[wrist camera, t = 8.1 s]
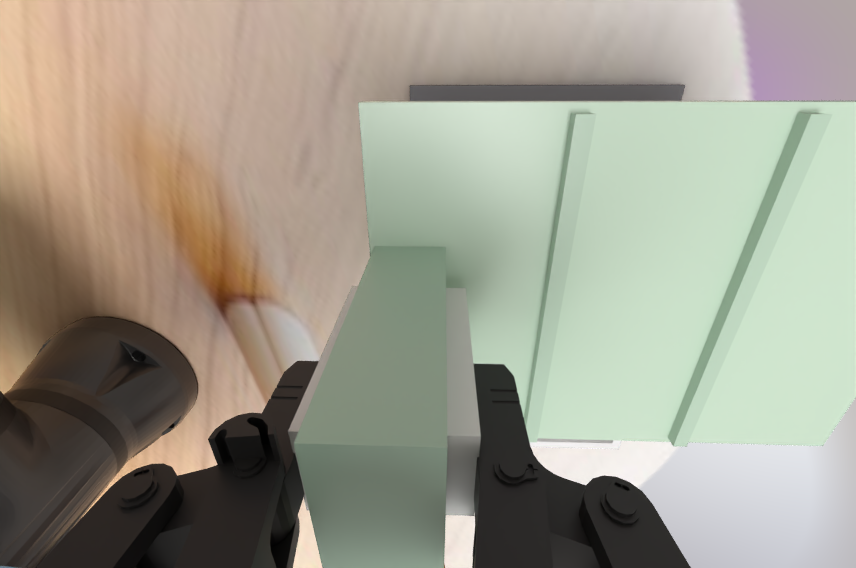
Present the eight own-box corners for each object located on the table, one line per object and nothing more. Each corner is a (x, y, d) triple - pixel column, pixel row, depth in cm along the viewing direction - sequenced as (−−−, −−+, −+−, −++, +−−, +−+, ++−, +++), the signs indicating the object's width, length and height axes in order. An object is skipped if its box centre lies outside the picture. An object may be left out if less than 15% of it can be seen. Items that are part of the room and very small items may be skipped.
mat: (414, 266, 36) (413, 268, 36) (410, 85, 29) (409, 85, 29) (633, 269, 36) (635, 271, 35) (682, 84, 29) (685, 84, 28)
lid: (386, 421, 20) (342, 681, 11) (362, 101, 13) (206, 146, 4) (809, 432, 19) (1103, 718, 11) (1019, 100, 12) (2333, 150, 4)
